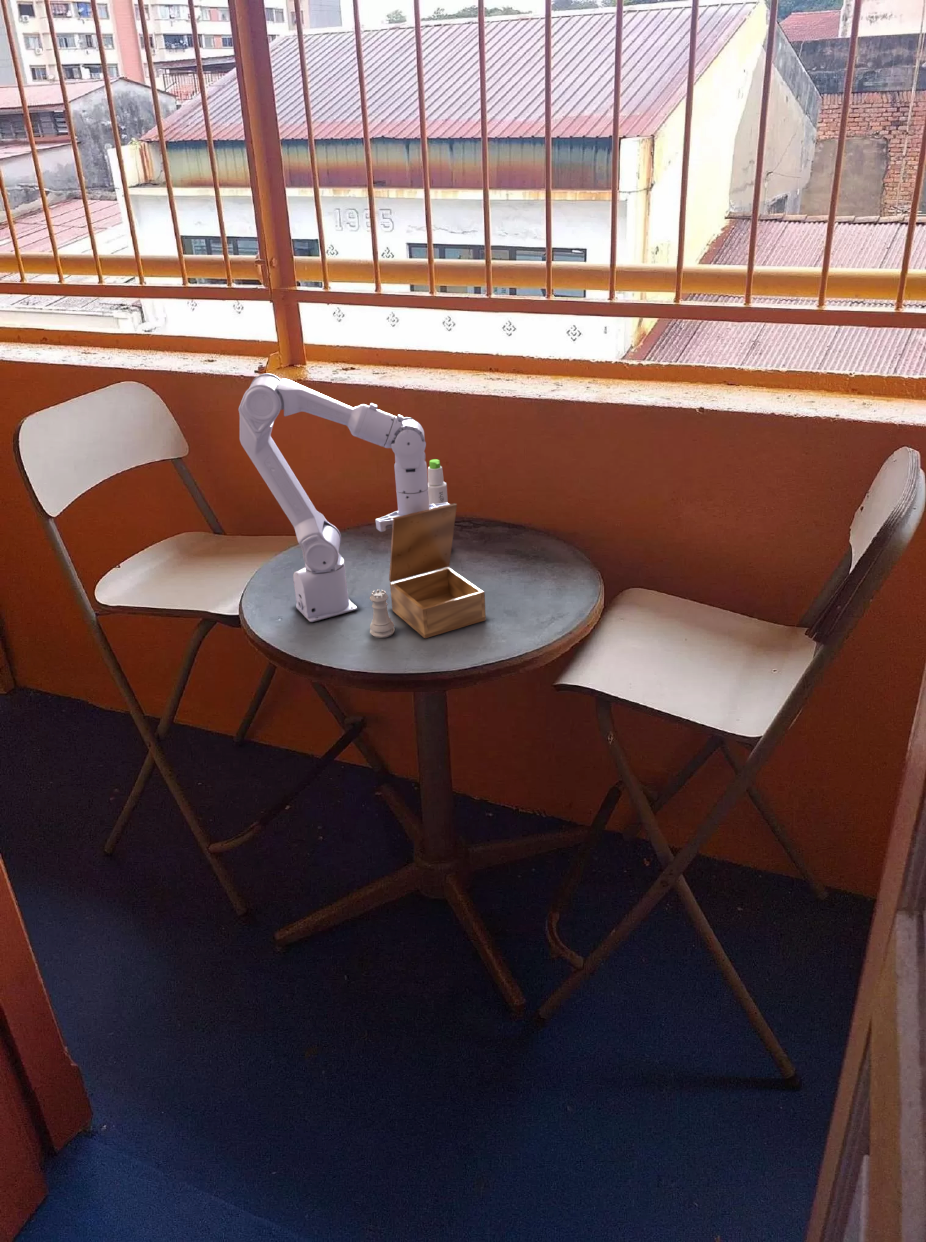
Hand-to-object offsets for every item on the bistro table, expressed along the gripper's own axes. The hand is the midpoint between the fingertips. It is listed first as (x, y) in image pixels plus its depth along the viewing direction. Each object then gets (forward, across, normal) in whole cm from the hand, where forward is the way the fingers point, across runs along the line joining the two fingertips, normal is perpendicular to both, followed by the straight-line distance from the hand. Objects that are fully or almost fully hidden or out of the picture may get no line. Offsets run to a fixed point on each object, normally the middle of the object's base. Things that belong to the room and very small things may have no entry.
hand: (417, 558), depth 171 cm
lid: (-4, 0, -3) cm, 5 cm away
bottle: (+9, +15, +19) cm, 26 cm away
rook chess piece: (+9, -12, -8) cm, 16 cm away
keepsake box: (+9, 0, -7) cm, 11 cm away
